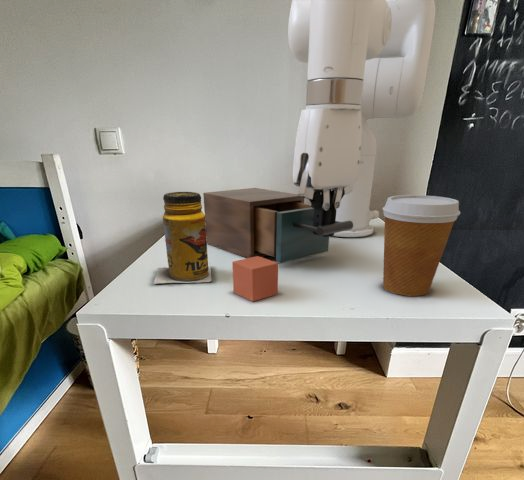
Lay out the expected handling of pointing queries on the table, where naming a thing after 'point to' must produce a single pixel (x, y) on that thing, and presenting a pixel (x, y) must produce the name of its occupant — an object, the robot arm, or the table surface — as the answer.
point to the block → (255, 278)
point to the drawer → (291, 231)
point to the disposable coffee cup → (415, 240)
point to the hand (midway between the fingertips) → (323, 234)
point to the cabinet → (238, 217)
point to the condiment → (184, 240)
